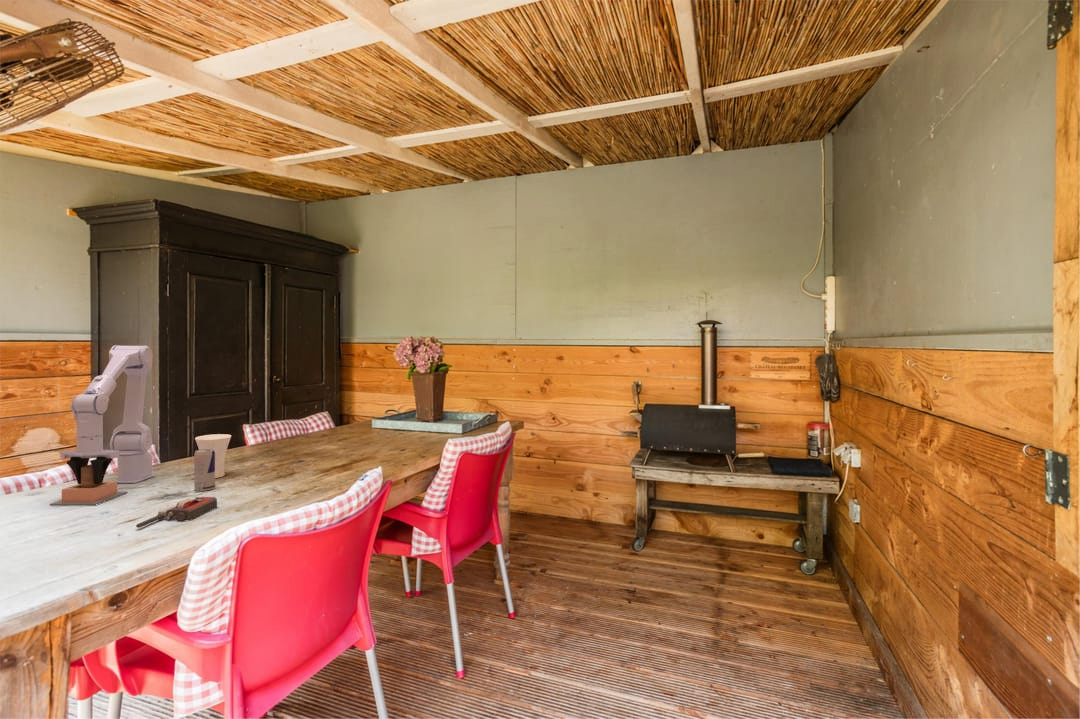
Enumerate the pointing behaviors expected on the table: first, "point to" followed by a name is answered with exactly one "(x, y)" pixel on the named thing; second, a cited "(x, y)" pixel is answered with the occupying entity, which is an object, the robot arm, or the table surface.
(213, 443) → the cup
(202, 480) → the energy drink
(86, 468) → the walnut peg
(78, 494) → the socket
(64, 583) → the table surface
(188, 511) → the walkie-talkie
